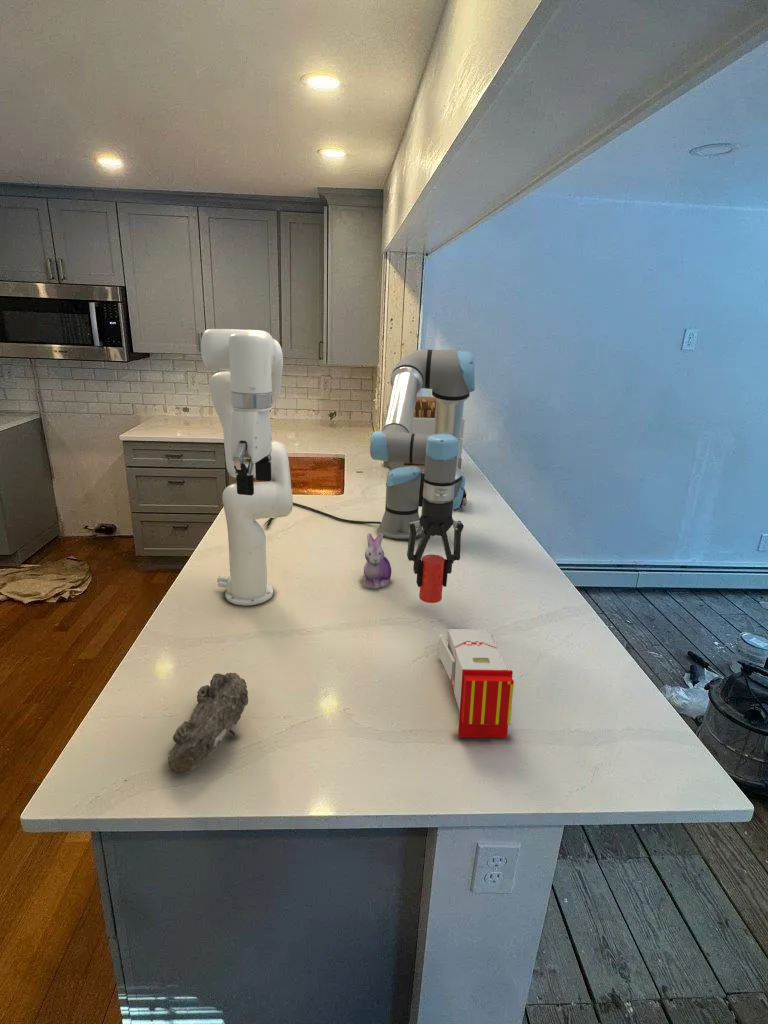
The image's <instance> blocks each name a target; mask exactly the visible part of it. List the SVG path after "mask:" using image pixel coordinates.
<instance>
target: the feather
mask: <svg viewBox="0 0 768 1024" xmlns="http://www.w3.org/2000/svg"><path fill="white" fill-rule="evenodd" d="M273 519H274V518H268V520H267V521H266V522H265V523H264V524H263V526H265V525H266V529H268V528H269V527H270V525H271V523H272V521H273Z"/></svg>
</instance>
